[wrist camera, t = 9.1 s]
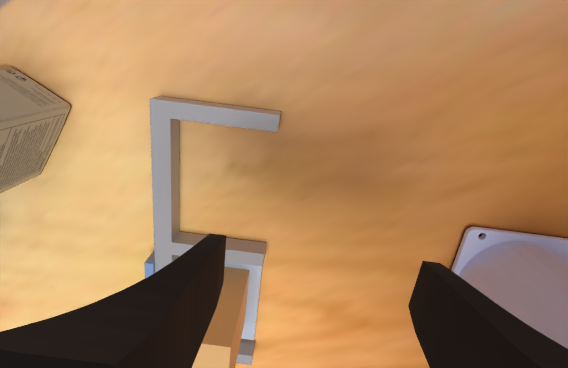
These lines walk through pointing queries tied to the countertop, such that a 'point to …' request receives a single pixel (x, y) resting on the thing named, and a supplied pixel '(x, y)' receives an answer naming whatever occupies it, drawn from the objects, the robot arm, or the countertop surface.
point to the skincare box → (26, 126)
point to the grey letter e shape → (167, 195)
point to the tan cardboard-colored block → (225, 323)
